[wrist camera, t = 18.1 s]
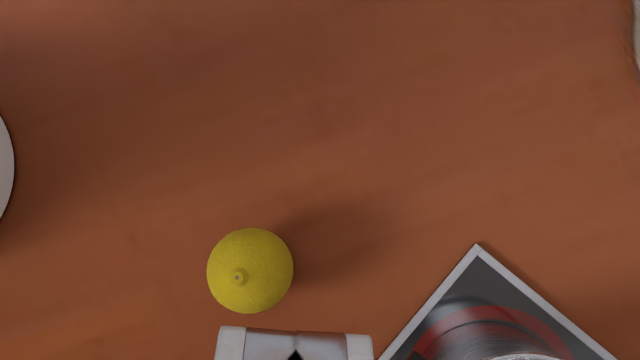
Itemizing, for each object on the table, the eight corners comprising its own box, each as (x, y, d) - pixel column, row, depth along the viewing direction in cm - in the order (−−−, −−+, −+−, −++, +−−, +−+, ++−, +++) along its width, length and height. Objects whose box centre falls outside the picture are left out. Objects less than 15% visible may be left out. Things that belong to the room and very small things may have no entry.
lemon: (299, 224, 40) (283, 230, 32) (299, 301, 39) (284, 326, 32) (224, 225, 40) (190, 230, 32) (224, 301, 40) (190, 325, 32)
